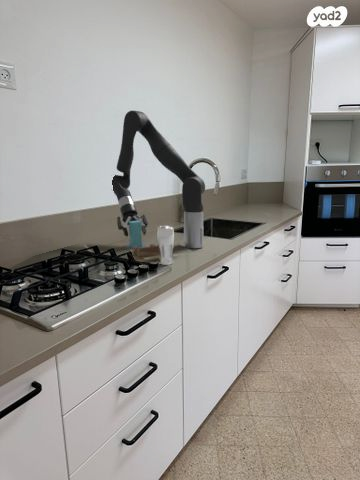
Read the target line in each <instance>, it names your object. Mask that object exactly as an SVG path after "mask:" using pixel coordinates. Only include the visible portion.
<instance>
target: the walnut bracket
mask: <svg viewBox="0 0 360 480" xmlns="http://www.w3.org/2000/svg"><path fill="white" fill-rule="evenodd" d="M127 252H128V251H127ZM127 252H126V251H125V252H124V254H126V253H127ZM131 252H132V254H133V256H134V259H135V260H136V261H142V262H148V263H153V262H155V263H156V262H159V249H158V245H155V244H154V243H152V244H150V245H149V246H147V247H142V248H139V247H137V246H133V250H132V251H131Z"/></svg>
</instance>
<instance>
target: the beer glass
mask: <svg viewBox="0 0 360 480" xmlns="http://www.w3.org/2000/svg"><path fill="white" fill-rule="evenodd" d="M156 229H157V230H156V242H157V243H156V244H157V246H158V249H159V261H158V264H159V265H160V264H162V265H161V266H170V265H173V264H174V257H173V251H174V245H175V230H174V229H175V228H174V226H173V225H159V226H157V228H156Z"/></svg>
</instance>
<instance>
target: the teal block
mask: <svg viewBox="0 0 360 480" xmlns="http://www.w3.org/2000/svg"><path fill="white" fill-rule="evenodd" d="M128 237H129V245H130V247H132V248H133V246H137V247H142V244H143V243H142V241H143V240H142V239H143V238H142V228H141V222H140V221H129V225H128Z"/></svg>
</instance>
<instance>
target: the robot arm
mask: <svg viewBox="0 0 360 480" xmlns="http://www.w3.org/2000/svg"><path fill="white" fill-rule="evenodd" d="M122 128H123V129H122V135H121V136H122V137H121V144H120V145H121V146H120V151H119V155H118V159H117V164H116V170H117V171H118V172H120V173H123V175H120V174H114V175H115V176H114V177H113V180H112V185H113V191H114V192H113V191H112V192H113V194H114V195H115V197H116V198H117V202H118V208H119V211H120V213H121V217H120V216H117V218H116V224H117V228H118V230H119V231H120V230H122V232H123V234H124V235H123V236H125V238H126V237H129V230H128V227H129V221H140V222H141V233H142V235H143V236H145V235H146V233H147V229H146V228H148V226H149V223H148V221H147V217H146V216H145V214H142V215H139V214H138V211H137V208H136V204H135V202H134V199H133V197H132V194H131V191H130V190H129V188H130V185H131V168H132V165H133V162H134V153H135V152H134V150H135V149H134V140H135V138H136V134H137V132H138V133H139V134H140V135H141V136H142V137H143V138H144V139H145V140H146V141H147V143H148V144H149V147H150V150H151V152H152V154H153V156H154V157H155V158H156V160H158V162H159V163H160V164H161V165H162V166H163V167H164V168H165V169H166V170H168V171H170V172H171V173H173V174H174V176H176V177H177V178H178V179H180V181H181V182H182V187H181V197H182V206H183V247H184V248H187V249H201V248H202V249H203V247H204V205H203V203H202V195H203V194H204V193H205V190H206V183H205V181H204V180H203V178H201V177H200V176H199V175H198V174H197V173H196V172H195V171H194V170H193V169H192V168H190V166H189V165H188V164H187V163H186V161H185V160H184V159H183V158H182V156H181V155H180V154H179V153H178V151H177V150H176V149H175V147H173V146H172V145H171V143H170V142H168V140H167V139H166V138H165V137H164V136H163V134H161V132H160V131H159V130H158V129H157V128H156V126H155V125H154V124H153V122H152V121H151V119H150V118H149V117H148V115H147V114H146V113H144V112H143V111H139V110H129V111H128V112H126V114H124V118H123V127H122ZM122 221H123V223H124V224H123V225H122Z"/></svg>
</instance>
